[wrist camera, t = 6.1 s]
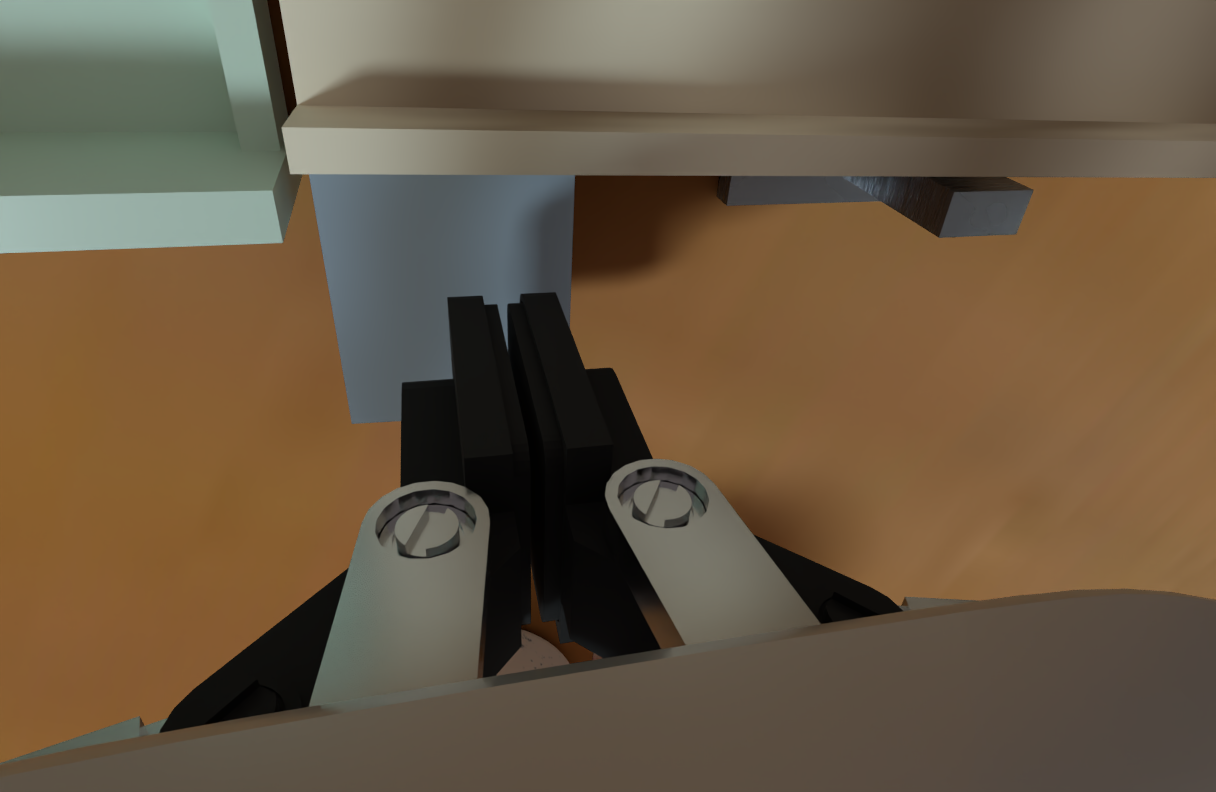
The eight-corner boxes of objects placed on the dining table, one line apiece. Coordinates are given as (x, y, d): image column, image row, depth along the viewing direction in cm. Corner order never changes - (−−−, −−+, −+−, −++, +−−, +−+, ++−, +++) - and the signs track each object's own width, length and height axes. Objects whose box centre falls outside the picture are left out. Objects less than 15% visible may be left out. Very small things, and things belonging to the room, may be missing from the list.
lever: (1766, -395, 11) (2082, -464, 9) (1269, 348, 18) (1377, 407, 16) (174, -739, 7) (54, -1019, 5) (357, 393, 14) (342, 480, 12)
